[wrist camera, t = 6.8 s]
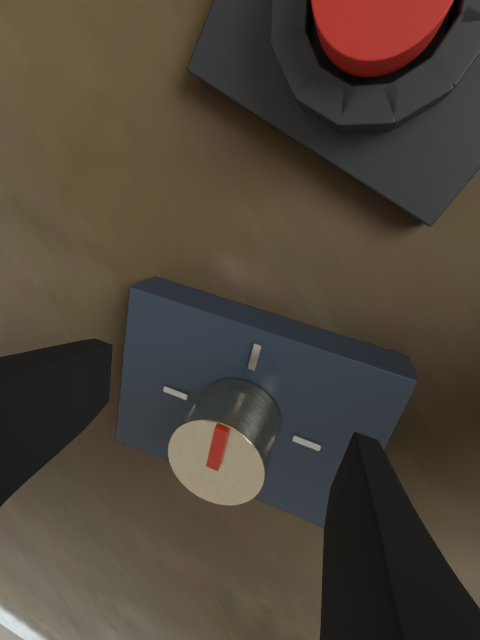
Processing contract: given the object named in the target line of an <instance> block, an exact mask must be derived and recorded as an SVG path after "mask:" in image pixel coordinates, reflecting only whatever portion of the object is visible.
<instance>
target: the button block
mask: <svg viewBox="0 0 480 640" xmlns="http://www.w3.org/2000/svg"><path fill="white" fill-rule="evenodd" d="M187 70H188V72H190V73H191V74H192V75H194V76H195V77H197V78H198V79H200V80H201V81H203V82H204V83H206V84H207V85H209V86H210V87H212V88H214V89H215V90H217V91H218V92H220V93H221V94H223V95H224V96H226V97H228V98H229V99H231V100H232V101H234V102H235V103H237V104H238V105H240V106H242V107H243V108H245V109H246V110H248V111H249V112H251V113H252V114H254V115H256V116H257V117H259V118H260V119H262V120H263V121H265V122H266V123H268V124H269V125H271V126H273V127H274V128H276V129H277V130H279V131H280V132H282V133H283V134H285V135H287V136H288V137H290V138H291V139H293V140H294V141H296V142H297V143H299V144H301V145H302V146H304V147H305V148H307V149H308V150H310V151H311V152H313V153H315V154H316V155H318V156H319V157H321V158H322V159H324V160H325V161H327V162H328V163H330V164H332V165H333V166H335V167H336V168H338V169H339V170H341V171H342V172H344V173H346V174H347V175H349V176H350V177H352V178H353V179H355V180H356V181H358V182H360V183H361V184H363V185H364V186H366V187H367V188H369V189H370V190H372V191H374V192H375V193H377V194H378V195H380V196H381V197H383V198H384V199H386V200H387V201H389V202H391V203H392V204H394V205H395V206H397V207H398V208H400V209H401V210H403V211H405V212H406V213H408V214H409V215H411V216H412V217H414V218H415V219H417V220H419V221H420V222H422V223H423V224H425V225H427V226H432V225H433V224H434V222H435V221H436V220H437V219H438V218H439V216H440V215H441V214H442V213H443V212H444V210H445V209H446V208H447V207H448V206H449V204H450V203H451V202H452V201H453V200H454V198H455V197H456V196H457V195H458V194H459V192H460V191H461V190H462V189H463V188H464V186H465V185H466V184H467V183H468V182H469V180H470V179H471V178H472V177H473V176H474V174H475V173H476V172H477V171H478V170H479V168H480V0H454V1H453V3H452V5H451V7H450V9H449V11H448V13H447V15H446V17H445V19H444V21H443V22H442V24H441V26H440V28H439V30H438V31H437V33H436V35H435V36H434V38H433V39H432V41H431V42H430V43H429V45H428V46H427V47H426V48H425V49H424V50H423V51H422V53H421V54H419V55H418V56H417V57H416V58H415V59H414V60H413V61H411V62H410V63H409V64H407V65H406V66H404V67H403V68H401V69H399V70H397V71H395V72H393V73H390V74H388V75H384V76H381V77H374V78H361V77H355V76H352V75H349V74H347V73H345V72H343V71H341V70H340V69H339V68H337V67H336V66H335V65H334V64H333V63H332V62H331V61H330V60H329V58H328V57H327V56H326V54H325V52H324V50H323V48H322V46H321V43H320V41H319V37H318V33H317V29H316V24H315V20H314V16H313V11H312V5H311V0H214V2H213V4H212V7H211V9H210V12H209V14H208V17H207V19H206V22H205V24H204V27H203V29H202V32H201V35H200V37H199V40H198V42H197V45H196V47H195V50H194V52H193V55H192V57H191V60H190V62H189V65H188V67H187Z"/></svg>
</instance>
